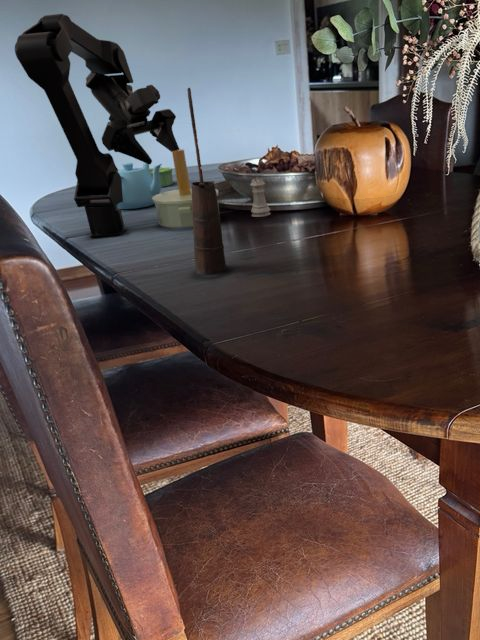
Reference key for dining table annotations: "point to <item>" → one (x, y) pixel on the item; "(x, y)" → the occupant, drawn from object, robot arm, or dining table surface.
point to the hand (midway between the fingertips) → (165, 158)
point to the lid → (182, 180)
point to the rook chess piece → (259, 199)
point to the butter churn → (205, 219)
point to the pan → (175, 214)
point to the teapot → (139, 186)
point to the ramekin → (164, 176)
